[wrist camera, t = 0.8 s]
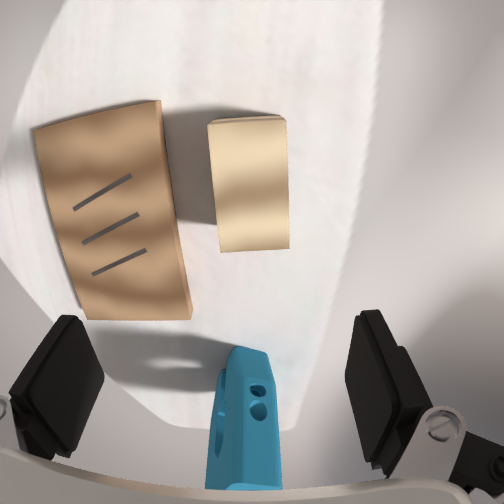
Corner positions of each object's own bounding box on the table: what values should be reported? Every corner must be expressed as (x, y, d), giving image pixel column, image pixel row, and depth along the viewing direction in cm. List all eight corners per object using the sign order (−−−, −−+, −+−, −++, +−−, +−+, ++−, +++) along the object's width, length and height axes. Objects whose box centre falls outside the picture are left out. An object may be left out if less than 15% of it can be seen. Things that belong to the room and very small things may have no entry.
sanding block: (215, 118, 29) (207, 124, 23) (279, 115, 29) (286, 120, 23) (225, 225, 34) (220, 252, 29) (283, 222, 34) (289, 248, 28)
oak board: (43, 127, 28) (33, 130, 26) (160, 100, 28) (154, 101, 26) (92, 310, 39) (87, 319, 37) (193, 309, 39) (190, 320, 37)
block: (243, 395, 47) (242, 515, 29) (212, 388, 46) (201, 510, 28) (275, 345, 42) (286, 487, 24) (239, 335, 41) (234, 481, 23)
